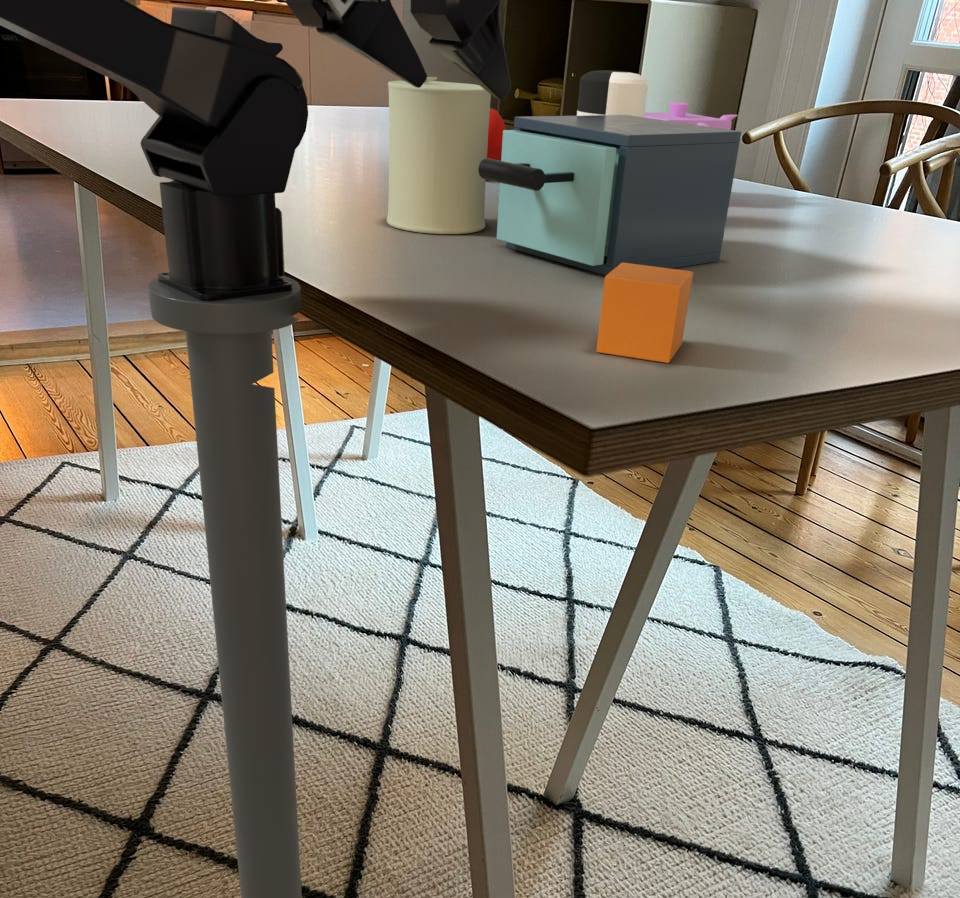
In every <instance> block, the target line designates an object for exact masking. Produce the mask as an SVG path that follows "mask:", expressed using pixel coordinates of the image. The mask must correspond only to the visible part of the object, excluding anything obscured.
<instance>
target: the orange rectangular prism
mask: <svg viewBox="0 0 960 898" xmlns="http://www.w3.org/2000/svg"><path fill="white" fill-rule="evenodd" d="M604 276H605V275H604ZM693 276H694V272H693V271H691V270H685V269H677V268H671V269H669V268H662V267H654V266H646V265H638V264H630V263H621V264H620V265H618V266H617V267H616V268H615V269H614V270H612V271H611V272H610V273H609V274H608V275H606V276H605V277H604V283H603V290H602V299H601V309H600V315H599V316H600V317H599V324H598V334H597V341H596V350H595V351H596V353H599V354H604V355H605V354H606V355H612V356H617V357H618V356H619V357H626V358H631V359H632V358H633V359H638V360H645V361H650V362H651V361H652V362H656V363H657V362H659V363H664V364H669V363H670V362H671V360H672V359H673V358H674V356H675V354H676V353H677V352H678V351H679V349H680V347H681V346H682V345H683V339H684V333H685V326H686V320H687V313H688V308H689V302H690V295H691V289H692V283H693Z"/></svg>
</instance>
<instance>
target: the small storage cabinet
mask: <svg viewBox="0 0 960 898" xmlns="http://www.w3.org/2000/svg"><path fill="white" fill-rule="evenodd" d="M513 130H517V131H522V132H528V133H549V134H555V135H561V136H566V137H572V138H578V139H584V140H590V141H595V142H601V143H607V144H613V145H619V146H620V150H619V159H618V167H617V176H616V185H615V193H614V202H613V210H612V219H611V227H610V236H609V245H608V253H607V257H606V256H604V261H603V265H596V266H591V265H588V264H584V263H580V262H577V261H573V260H570V259H566V258H563V257H559V256H555V255H552V254H548V253H545V252H541V251H538V250H534V249H530V248H527V247H523V246H520V245H516V244H513V243H509V242H506V243H505V247H506V248H508V249H511V250H515V251H518V252H522V253H525V254H529V255H532V256H535V257H539V258H543V259H545V260H550V261H553V262H557V263H560V264H564V265H567V266H571V267H574V268H578V269H581V270H585V271H588V272H592V273H595V274H599V275H603V276H606V275H608V274H609V273H610V272H611V271H612V270H614V269H615V268H616V267H617V266H618V265H620V264H621V263H630V264H638V265H646V266H654V267H662V268H669V269H677V268H684V267H690V266H696V265H703V264H710V263H718V262H720V258H721V252H722V247H723V241H724V236H725V229H726V223H727V218H728V212H729V207H730V201H731V195H732V189H733V188H732V187H733V184H734V178H735V171H736V166H737V160H738V155H739V150H740V149H739V148H740V141H741V137H742V131H740V130H734V129H733V130H732V129H731V130H727V129H720V128H713V127H707V126H700V125H693V124H686V123H679V122H672V121H665V120H658V119H652V118H645V117H638V116H631V115H591V116H577V115H540V116H538V115H535V116H534V115H531V116H528V115H527V116H514V122H513Z"/></svg>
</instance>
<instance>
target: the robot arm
mask: <svg viewBox="0 0 960 898" xmlns="http://www.w3.org/2000/svg"><path fill="white" fill-rule="evenodd" d="M285 4H286V5H287V7H288V8H289V9H290V10H291V12H292V14H293V15H294V16H295V18H296V19H297V21H298V22H299V23H300V25H302V27H310V28H315V30H316V32H317V33H318V34H319V35H321V36H324V37H326V38H329V39H331V40H333V41H335V42H336V43H338V44H340V45H342V46H343V47H345V48H347V49H349V50H350V51H353V52H354V53H356V54H358V55H360V56H361V57H362V58H364V59H367V60H368V61H370V62H372V63H374V64H376V65H377V66H379V67H381V68H382V69H384V70H385V71H387V72H389V73H391V74H392V75H394V76H395V77H397V78H399V79H401V81H406V82H407V83H409V84H411V85H413V86H414V87H417V88H420V87H421V86H422V85H423V83H424V82H425V81H426V79H427V77H428V74H427V72H426V69H425V68H424V67H425V66H424V65H423V62H422V61H421V58H420V57H419V54H418V52H417V50H416V48H415V47H414V44H413V43H412V41H411V39H410V36H409V34H408V32H407V31H406V29H405V27H404V26H403V23H402V21H401V20H400V18H399V16H398V13H397V12H396V10H395V8H394V6H393V4H392V1H391V0H285ZM501 4H502V0H410V14H411V15H412V17H413V19H414V20H415V21H416V23H417V25H418V26H419V28H420V29H421V30H423V31H424V32H426V34H428V35H429V36H431V38H430V40H429V41H428V43H429V45H430V46H431V47H432V48H434V49H435V50H436V51H437V52H438V53H440V54H441V55H442V56H443V57H444V58H445V59H446V60H448V61H449V62H451V63H452V64H453V65H454V66H455V67H457V68H458V69H459V70H460V71H461V72H463V73H464V74H465V75H466V76H468V77H469V79H471V80H472V81H473V82H475V83H476V85H480V86H481V87H482V88H483V89H485V90H486V91H487V92H489V93H490V94H491V96H492V97H494V98H495V99H497V100H498V101H505V99H506V97H507V96H508V95H509V93H510V92H511V90H512V83H511V78H510V73H509V67H508V62H507V56H506V51H505V50H506V49H505V45H504V39H503V33H502V25H501V15H500V11H501ZM0 26H1V27H3V28H5V29H6V30H10V31H11V32H14V33H15V34H18V35H20V36H22V37H24V38H26V39H28V40H30V41H32V42H33V43H36V44H39V45H40V46H42V47H44V48H47V49H49V50H50V51H53V52H55V53H57V54H59V55H61V56H63V57H65V58H67V59H70V60H71V61H73V62H76V63H78V64H79V65H82V66H84V67H86V68H88V69H90V70H92V71H94V72H96V73H98V74H100V75H103V76H105V77H107V78H109V79H111V80H113V81H115V82H117V83H119V84H121V85H122V86H124V87H125V88H126V89H128V90H130V91H131V92H132V93H133V94H134V95H135V96H136V97H138V98H139V99H140V100H141V101H142V102H143V103H144V104H145V105H146V106H148V107H149V108H150V109H151V110H152V111H153V112H154V113H156V115H157V116H158V117H157V118H156V119H155V121H154V123H153V124H152V125H151V127H150V128H149V129H148V130H147V132H146V133H145V134H144V136H143V137H142V138H141V140H140V147H141V149H142V152H143V155H144V156H145V159H146V161H147V164H148V166H149V169H150V170H151V173H152V175H154V176H155V177H158V178H165V179H169V180H171V181H162V182H159V192H160V200H161V201H160V202H161V211H162V222H163V229H164V230H163V231H164V240H165V249H166V250H165V251H166V258H167V259H166V260H167V269H168V270H167V271H163V272H158V273H157V278H158V281H160V282H162V283H164V284H166V285H168V286H170V287H172V288H175V289H177V290H179V291H181V292H183V293H185V294H187V295H190V296H192V297H194V298H196V299H198V300H201V301H215V300H223V299H231V298H239V297H247V296H254V295H262V294H270V293H278V292H286V291H291V290H292V283H291V282H289V281H287V280H284V279H282V278H279V277H282V276H284V274H285V253H284V252H285V251H284V232H283V231H284V230H283V212H282V211H281V209H280V208H279V207H276V194H283V193H285V191H286V188H287V184H288V180H289V176H290V172H291V169H292V165H293V160H294V157H295V153H296V149H297V148H298V147H299V146H300V144H301V142H302V141H303V138H304V136H305V133H306V131H307V126H308V119H309V106H308V96H307V94H306V91H305V87H304V85H303V84H304V80H303V78H302V76H301V74H300V73H299V72H298V70H297V69H296V68H295V67H294V66H292V64H290V63H289V62H288V61H286V59H283V58H282V57H279V56H278V55H279V54H280V53H281V52H282V51H283V50H284V46H283V43H280V42H273V41H266V40H263V39H260V38H258V37H256V35H253V34H252V33H251V32H249V30H247V29H246V28H244V27H243V26H242V25H241V24H240V23H239V22H238V21H237V20H235V19H234V18H232V17H231V16H229V15H227V13H225V12H223V10H216V9H206V8H205V9H204V8H195V7H193V8H192V7H182V6H173V7H172V9H171V18H170V23H168V22H166V21H163V20H162V19H159V18H158V17H156V16H154V15H153V14H151V13H149V12H147V11H145V10H143V9H141V8H140V7H138V6H136V5H134V4H132V3H131V2H129V1H127V0H0Z"/></svg>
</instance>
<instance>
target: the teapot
mask: <svg viewBox="0 0 960 898" xmlns="http://www.w3.org/2000/svg"><path fill="white" fill-rule="evenodd" d="M689 106H690V104H689V103H688V102H684V101H683V102H682V101H670V102H669V103H668V108H669V112H645V113H644V117H645V118H652V119H658V120H665V121H672V122H679V123H686V124H693V125H700V126H707V127H713V128H720V129H727V130H732V123H733V121H732V120H734V119H735V118H737V117H738V116H739V115H738V114H723V115H721V116H720V117H712V116H706V115H700V114H695V113H694V114H693V113H688V109H689Z"/></svg>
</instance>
